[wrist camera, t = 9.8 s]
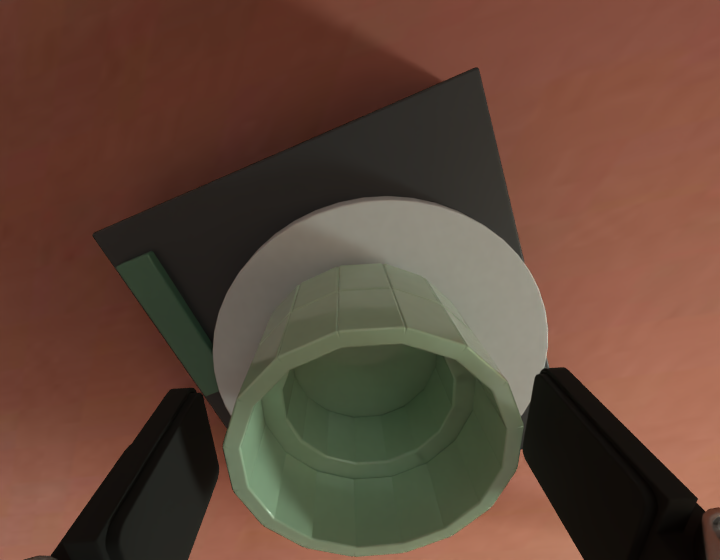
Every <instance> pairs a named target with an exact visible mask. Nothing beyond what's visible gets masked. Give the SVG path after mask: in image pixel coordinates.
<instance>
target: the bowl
mask: <svg viewBox="0 0 720 560" xmlns="http://www.w3.org/2000/svg"><path fill="white" fill-rule="evenodd" d="M523 425H524V424H523V421H522V418H521V415H520V413H519V410H518V407H517V405H516V402H515V399H514V396H513V394H512V391H511V388H510V386H509V383H508V381H507V380H506V378H505V377H504V375H503V374H502V373H501V371H500V370H499V368H498V367H497V365H496V364H495V363H494V361H493V360H492V358H491V357H490V356H489V354H488V353H487V351H486V350H485V348H484V347H483V346H482V344H481V343H480V341H479V340H478V338H477V337H476V336H475V334H474V333H473V332H472V330H471V329H470V327H469V326H468V325H467V323H466V322H465V320H464V319H463V317H462V316H461V315H460V313H459V312H458V310H457V309H456V307H455V306H454V305H453V303H452V302H451V301H450V300H449V299H448V298H447V297H446V296H445V295H444V294H442V293H441V292H440V291H439V290H438V289H437V288H436V287H435V286H434V285H433V284H431V283H430V282H429V281H428V280H427V279H426V278H423V277H422V276H420V275H418V274H415V273H412V272H409V271H406V270H403V269H400V268H397V267H394V266H391V265H388V264H381V263H376V264H358V265H341V266H339V267H335V268H333V269H330V270H328V271H326V272H324V273H322V274H319V275H317V276H315V277H313V278H311V279H309V280H306V281H304V282H302V283H301V284H300V285H297V286H296V287H295V288H294V290H293V291H292V292H291V293H290V294H289V295H288V296H287V297H286V298H285V299H284V300H283V302H282V303H281V304H280V305H279V306H278V307H277V308H276V309H275V310H274V311H273V313H272V315H271V316H270V319H269V321H268V324H267V326H266V328H265V331H264V333H263V336H262V338H261V341H260V343H259V345H258V348H257V350H256V353H255V355H254V357H253V360H252V362H251V365H250V367H249V370H248V372H247V374H246V377H245V379H244V382H243V384H242V387H241V389H240V391H239V394H238V396H237V399H236V402H235V405H234V408H233V412H232V415H231V418H230V422H229V425H228V428H227V432H226V435H225V438H224V441H223V451H224V456H225V460H226V464H227V468H228V473H229V477H230V481H231V485H232V489H233V490H234V493H235V494H236V495H237V496H238V498H239V499H240V500H241V501H242V502H243V503H244V505H245V506H246V507H247V508H248V509H249V510H250V512H251V513H252V514H253V515H254V516H255V517H256V519H257V520H258V521H259V522H260V523H261V524H262V525H263V526H264V527H266V528H268V529H270V530H272V531H274V532H276V533H277V534H279V535H281V536H283V537H285V538H287V539H289V540H291V541H293V542H294V543H296V544H298V545H300V546H302V547H305V548H308V549H313V550H319V551H324V552H329V553H335V554H340V555H345V556H351V557H353V556H354V557H361V556H373V555H385V554H398V553H404V552H409V551H411V550H414V549H417V548H420V547H423V546H426V545H428V544H431V543H434V542H437V541H440V540H443V539H445V538H448V537H451V535H454V534H456V533H457V532H458V531H460V530H461V529H463V528H464V527H465V526H467V525H468V524H469V523H471V522H472V521H474V520H475V519H476V518H478V517H479V516H481V515H482V514H483V513H485V512H486V511H487V510H489V509H490V507H492V506H493V504H494V503H495V501H496V500H497V499H498V497H499V496H500V494H501V493H502V491H503V490H504V488H505V487H506V485H507V484H508V482H509V481H510V479H511V478H512V477H513V475H514V474H515V472H516V469H517V467H518V461H519V455H520V448H521V442H522V436H523V429H524V426H523Z"/></svg>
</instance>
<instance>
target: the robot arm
mask: <svg viewBox="0 0 720 560" xmlns="http://www.w3.org/2000/svg"><path fill="white" fill-rule="evenodd" d="M523 454H524V457H525V460H526V461H527V463H528V465H529V467H530V468H531V470H532V472H533V473H534V475H535V477H536V479H537V480H538V482H539V484H540V485H541V487H542V489H543V491H544V492H545V494H546V496H547V497H548V499H549V501H550V502H551V504H552V506H553V508H554V509H555V511H556V513H557V514H558V516H559V518H560V520H561V521H562V523H563V525H564V526H565V528H566V530H567V532H568V533H569V535H570V537H571V538H572V540H573V542H574V544H575V545H576V547H577V549H578V550H579V552H580V554H581V555H582V557H583V559H584V560H720V508H713V509H709V510H707V511H706V512H705V511H704V510H703V509H702V508H701V507H700V506H699V505H698V504H697V503H696V502H697V500H698V498H697V497H696V496H695V495H694V494H693V493H692V492H691V491H690V490H689V489H688V488H687V487H686V486H685V485H684V484H683V483H682V482H681V481H680V480H679V479H678V478H677V477H676V476H675V475H674V474H673V473H672V472H671V471H670V470H668V469H667V468H666V467H665V466H664V465H663V464H662V463H661V462H660V461H659V460H658V459H657V458H656V457H655V456H654V455H653V454H652V453H651V452H650V451H649V450H648V449H647V448H646V447H645V446H644V445H643V444H642V443H641V442H640V441H639V440H638V439H637V438H636V437H635V436H634V435H633V434H632V433H631V432H630V431H629V430H628V429H627V428H626V427H625V426H624V425H623V424H622V423H621V422H620V421H619V420H618V419H617V418H616V417H615V416H614V415H613V414H612V413H611V412H610V411H609V410H608V409H607V408H606V407H605V406H604V405H603V404H602V403H601V402H600V401H599V400H598V399H597V398H596V397H595V396H594V395H593V394H592V393H591V392H590V391H589V390H588V389H587V388H586V387H585V386H584V385H583V384H582V383H581V382H580V381H579V380H578V379H577V378H576V377H575V376H574V375H573V374H572V373H571V372H570V371H569V370H567V369H566V368H563V367H561V368H544V369H542V370H541V371H540V374H537V375H536V376H535V378H534V384H533V390H532V395H531V401H530V407H529V412H528V418H527V424H526V429H525V435H524V441H523ZM218 475H219V464H218V460H217V455H216V451H215V447H214V442H213V438H212V433H211V429H210V425H209V420H208V416H207V412H206V407H205V403H204V399H203V395H202V394H201V393H197V392H196V390H195V389H194V388H180V389H171V390H170V391H169V392H168V393H167V394H166V396H165V397H164V398H163V400H162V401H161V403H160V404H159V406H158V407H157V408H156V410H155V411H154V413H153V414H152V416H151V417H150V418H149V420H148V421H147V423H146V424H145V426H144V427H143V428H142V430H141V431H140V433H139V434H138V436H137V437H136V438H135V440H134V441H133V443H132V444H131V445H129V447H128V448H127V449H126V450H125V451H124V453H123V454H122V455H121V457H120V458H119V460H118V461H117V463H116V464H115V465H114V467H113V468H112V470H111V471H110V472H109V474H108V475H107V477H106V478H105V480H104V481H103V482H102V484H101V485H100V487H99V488H98V489H97V491H96V492H95V494H94V495H93V496H92V498H91V499H90V501H89V502H88V504H87V505H86V506H85V508H84V509H83V511H82V512H81V513H80V515H79V516H78V518H77V519H76V521H75V522H74V523H73V525H72V526H71V528H70V529H69V530H68V532H67V533H66V535H65V536H64V538H63V539H62V540H61V542H60V543H59V545H58V546H57V547H56V549H55V550H54V552H53V553H52V554H51V556H35V557H32V558H28V559H24V560H188V558H189V555H190V553H191V550H192V547H193V545H194V542H195V539H196V536H197V534H198V531H199V528H200V526H201V523H202V520H203V517H204V515H205V512H206V509H207V507H208V504H209V501H210V498H211V496H212V493H213V490H214V488H215V485H216V482H217V479H218Z"/></svg>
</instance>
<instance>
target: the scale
mask: <svg viewBox="0 0 720 560" xmlns="http://www.w3.org/2000/svg"><path fill="white" fill-rule="evenodd" d="M93 237H94V239H95V240H96V242H97V243H98V245H99V246H100V247H101V249H102V250H103V252H104V253H105V255H106V256H107V257H108V259H109V260H110V262H111V263H112V265H113V266H114V267H115V269H116V270H117V272H118V273H119V275H120V276H121V277H122V279H123V280H124V282H125V283H126V285H127V286H128V288H129V289H130V290H131V292H132V293H133V295H134V296H135V298H136V299H137V300H138V302H139V303H140V305H141V306H142V308H143V309H144V310H145V312H146V313H147V315H148V316H149V318H150V319H151V320H152V322H153V323H154V325H155V326H156V328H157V329H158V330H159V332H160V333H161V335H162V336H163V338H164V339H165V340H166V342H167V343H168V345H169V346H170V348H171V349H172V350H173V352H174V353H175V355H176V356H177V358H178V359H179V361H180V362H181V363H182V365H183V366H184V368H185V369H186V371H187V372H188V373H189V375H190V376H191V378H192V379H193V381H194V382H195V383H196V385H197V386H198V388H199V389H200V391H201V392H202V393H203V395H204V396H205V398H206V399H207V401H208V402H209V403H210V405H211V406H212V408H213V409H214V411H215V412H216V413H217V415H218V416H219V418H220V419H221V421H222V422H223V424H224V425H225V426H226V428H228V425H229V422H230V418H231V415H232V412H233V408H234V405H235V402H236V399H237V396H238V394H239V391H240V389H241V387H242V384H243V382H244V379H245V377H246V374H247V372H248V370H249V367H250V365H251V362H252V360H253V357H254V355H255V353H256V350H257V348H258V345H259V343H260V341H261V338H262V336H263V333H264V331H265V328H266V326H267V324H268V321H269V319H270V316H271V315H272V313H273V311H274V310H275V309H276V308H277V307H278V306H279V305H280V304H281V303H282V302H283V300H284V299H285V298H286V297H287V296H288V295H289V294H290V293H291V292H292V291H293V290H294V288H295V287H296V286H297V285H300V284H301V283H302V282H304V281H306V280H309V279H311V278H313V277H315V276H317V275H319V274H322V273H324V272H326V271H328V270H330V269H333V268H335V267H339V266H341V265H358V264H376V263H381V264H388V265H391V266H394V267H397V268H400V269H403V270H406V271H409V272H412V273H415V274H418V275H420V276H422V277H423V278H426V279H427V280H428V281H429V282H430V283H431V284H433V285H434V286H435V287H436V288H437V289H438V290H439V291H440V292H441V293H442V294H444V295H445V296H446V297H447V298H448V299H449V300H450V301H451V302H452V303H453V305H454V306H455V307H456V309H457V310H458V312H459V313H460V315H461V316H462V317H463V319H464V320H465V322H466V323H467V325H468V326H469V327H470V329H471V330H472V332H473V333H474V334H475V336H476V337H477V338H478V340H479V341H480V343H481V344H482V346H483V347H484V348H485V350H486V351H487V353H488V354H489V356H490V357H491V358H492V360H493V361H494V363H495V364H496V365H497V367H498V368H499V370H500V371H501V373H502V374H503V375H504V377H505V378H506V380H507V381H508V383H509V386H510V388H511V391H512V394H513V396H514V399H515V402H516V405H517V407H518V410H519V413H520V415H521V418H522V421H523V424H524V425H523V426H524V429H523V436H522V442H521V448H520V450H521V449H523V441H524V435H525V429H526V424H527V418H528V412H529V407H530V401H531V395H532V390H533V384H534V378H535V376H536V375H537V374H540V371H541V370H542V369H544V368H549V365H548V360H547V356H546V355H547V349H548V325H547V318H546V311H545V307H544V304H543V301H542V297H541V294H540V291H539V289H538V287H537V284H536V282H535V280H534V278H533V276H532V274H531V272H530V271H529V269H528V268H527V267H526V265H525V263H524V259H523V254H522V250H521V246H520V242H519V237H518V233H517V229H516V225H515V220H514V216H513V212H512V208H511V203H510V199H509V195H508V191H507V186H506V182H505V178H504V174H503V169H502V165H501V161H500V157H499V152H498V148H497V144H496V140H495V136H494V131H493V127H492V123H491V119H490V114H489V110H488V106H487V102H486V97H485V93H484V89H483V85H482V80H481V76H480V72H479V69H478V68H473V69H471V70H468V71H466V72H464V73H462V74H459V75H457V76H455V77H452V78H450V79H448V80H445V81H443V82H441V83H438V84H436V85H434V86H432V87H429V88H427V89H425V90H422V91H420V92H418V93H415V94H413V95H411V96H408V97H406V98H404V99H402V100H399V101H397V102H395V103H392V104H390V105H388V106H385V107H383V108H381V109H378V110H376V111H374V112H372V113H369V114H367V115H365V116H362V117H360V118H358V119H355V120H353V121H351V122H348V123H346V124H344V125H342V126H339V127H337V128H335V129H332V130H330V131H328V132H325V133H323V134H321V135H318V136H316V137H314V138H312V139H309V140H307V141H305V142H302V143H300V144H298V145H295V146H293V147H291V148H288V149H286V150H284V151H282V152H279V153H277V154H275V155H272V156H270V157H268V158H265V159H263V160H261V161H258V162H256V163H254V164H251V165H249V166H247V167H245V168H242V169H240V170H238V171H235V172H233V173H231V174H228V175H226V176H224V177H221V178H219V179H217V180H215V181H212V182H210V183H208V184H205V185H203V186H201V187H198V188H196V189H194V190H191V191H189V192H187V193H185V194H182V195H180V196H178V197H175V198H173V199H171V200H168V201H166V202H164V203H161V204H159V205H157V206H155V207H152V208H150V209H148V210H145V211H143V212H141V213H138V214H136V215H134V216H131V217H129V218H127V219H125V220H122V221H120V222H118V223H115V224H113V225H111V226H108V227H106V228H104V229H101V230H99V231H97V232H95V233H93Z"/></svg>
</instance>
